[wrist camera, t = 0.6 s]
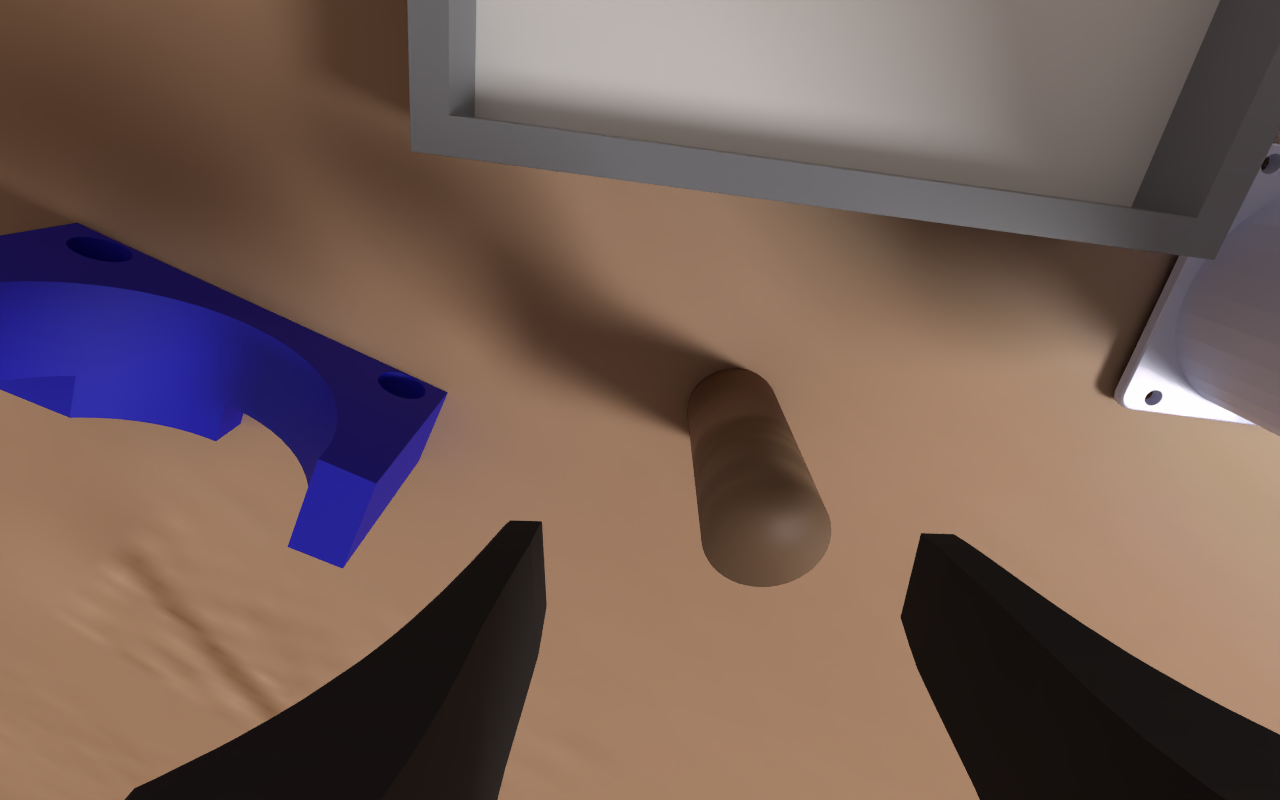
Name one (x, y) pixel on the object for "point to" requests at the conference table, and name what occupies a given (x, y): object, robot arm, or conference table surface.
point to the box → (875, 104)
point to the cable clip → (208, 372)
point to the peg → (752, 483)
